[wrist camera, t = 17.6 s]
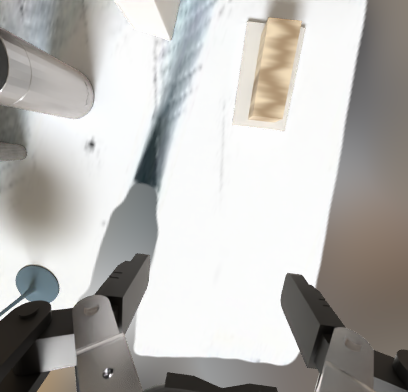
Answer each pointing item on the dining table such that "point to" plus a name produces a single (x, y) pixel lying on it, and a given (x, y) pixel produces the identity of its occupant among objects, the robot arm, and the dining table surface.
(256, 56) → the white board
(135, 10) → the milk carton
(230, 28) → the dining table surface
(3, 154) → the hip flask
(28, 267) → the cocktail glass
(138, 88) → the dining table surface
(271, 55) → the birch block
